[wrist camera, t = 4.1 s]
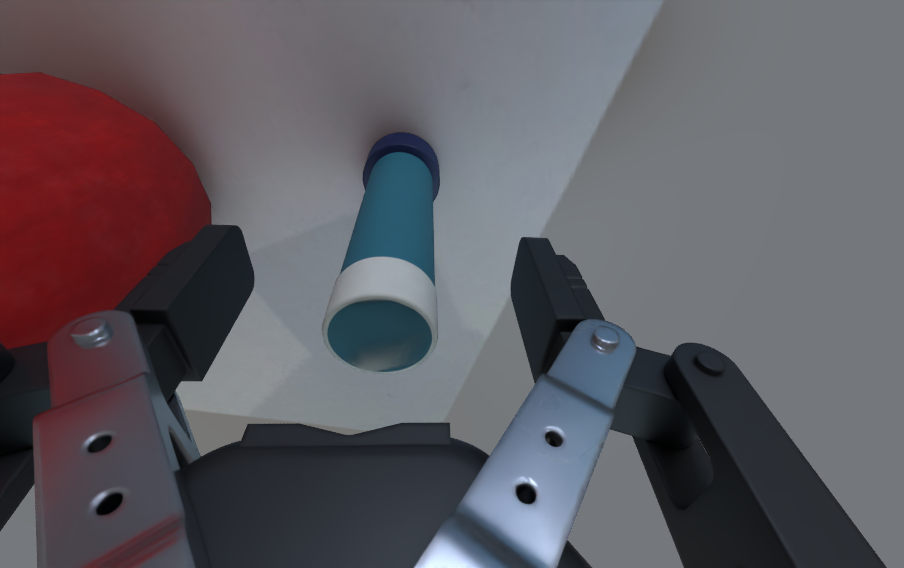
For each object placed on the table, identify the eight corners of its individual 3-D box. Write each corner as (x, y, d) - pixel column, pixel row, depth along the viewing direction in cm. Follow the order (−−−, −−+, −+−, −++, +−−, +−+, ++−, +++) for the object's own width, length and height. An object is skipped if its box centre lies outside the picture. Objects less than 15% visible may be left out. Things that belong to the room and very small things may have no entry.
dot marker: (441, 134, 16) (453, 287, 8) (437, 203, 18) (444, 381, 10) (364, 129, 16) (298, 283, 8) (369, 199, 18) (320, 381, 10)
